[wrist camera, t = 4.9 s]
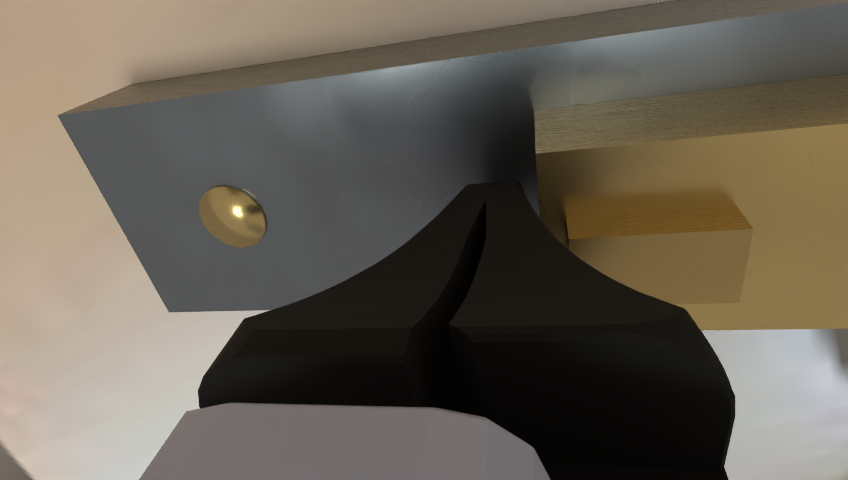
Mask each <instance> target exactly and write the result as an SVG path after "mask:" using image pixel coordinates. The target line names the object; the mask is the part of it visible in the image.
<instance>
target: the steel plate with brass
mask: <svg viewBox="0 0 848 480" xmlns="http://www.w3.org/2000/svg"><path fill="white" fill-rule="evenodd" d="M841 74H848V0H676V1H669V2H663V3H656V4H650V5H643V6H637V7H630V8H624V9H617V10H611V11H605V12H598V13H592V14H585V15H579V16H572V17H566V18H559V19H553V20H546V21H540V22H533V23H527V24H520V25H514V26H508V27H501V28H495V29H488V30H482V31H475V32H469V33H462V34H456V35H449V36H443V37H436V38H430V39H423V40H417V41H410V42H404V43H398V44H391V45H385V46H378V47H372V48H365V49H359V50H352V51H346V52H339V53H333V54H326V55H320V56H313V57H307V58H301V59H294V60H288V61H281V62H275V63H268V64H262V65H255V66H249V67H242V68H236V69H229V70H223V71H216V72H210V73H204V74H197V75H191V76H184V77H178V78H171V79H165V80H158V81H152V82H145V83H139V84H132V85H129V86H126V87H124V88H122V89H119V90H117V91H114V92H112V93H110V94H107V95H105V96H102V97H100V98H98V99H95V100H93V101H90V102H88V103H86V104H83V105H81V106H78V107H76V108H74V109H71V110H69V111H67V112H64V113H62V114H59V115H58V117H59V119H60V121H61V122H62V124H63V126H64V128H65V129H66V131H67V133H68V135H69V136H70V138H71V140H72V142H73V143H74V145H75V147H76V149H77V151H78V152H79V154H80V156H81V158H82V159H83V161H84V163H85V165H86V166H87V168H88V170H89V172H90V174H91V175H92V177H93V179H94V181H95V182H96V184H97V186H98V188H99V189H100V191H101V193H102V195H103V196H104V198H105V200H106V202H107V204H108V205H109V207H110V209H111V211H112V212H113V214H114V216H115V218H116V219H117V221H118V223H119V225H120V226H121V228H122V230H123V232H124V234H125V235H126V237H127V239H128V241H129V242H130V244H131V246H132V248H133V249H134V251H135V253H136V255H137V257H138V258H139V260H140V262H141V264H142V265H143V267H144V269H145V271H146V272H147V274H148V276H149V278H150V279H151V281H152V283H153V285H154V287H155V288H156V290H157V292H158V294H159V295H160V297H161V299H162V301H163V302H164V304H165V306H166V308H167V309H168V311H169V312H200V311H244V310H273V309H276V308H279V307H282V306H285V305H288V304H291V303H294V302H297V301H299V300H302V299H305V298H307V297H309V296H312V295H314V294H317V293H319V292H322V291H324V290H326V289H328V288H330V287H333V286H335V285H337V284H339V283H341V282H343V281H345V280H347V279H349V278H351V277H352V276H354V275H356V274H358V273H360V272H361V271H363V270H365V269H367V268H369V267H371V266H372V265H374V264H376V263H377V262H379V261H381V260H382V259H384V258H385V257H387V256H388V255H389V254H391V253H392V252H394V251H395V250H397V249H398V248H399V247H401V246H402V245H404V244H405V243H406V242H407V241H409V240H410V239H411V238H412V237H413V236H415V235H416V234H417V233H418V232H419V231H420V230H421V229H423V228H424V227H425V226H426V225H427V224H428V223H429V222H431V221H432V220H433V219H434V218H435V217H436V216H437V215H438V214H439V213H440V212H441V211H442V210H443V209H444V208H445V207H446V206H447V205H448V204H449V203H450V202H451V201H452V200H453V199H454V198H455V197H456V196H457V195H458V193H459V192H460V191H461V190H462V189H463V188H464V187H465V186H467V185H468V184H480V183H491V182H503V181H515V180H518V181H519V182H520V183H521V184H522V185H523V190H524V193H525V195H526V197H527V199H528V201H529V203H530V204H531V206H532V207H533V209H534V210H535V212H536V213H537V215H538V216H539V217H540V213H539V197H538V182H537V167H536V150H535V118H534V110H543V109H551V108H560V107H568V106H577V105H585V104H594V103H602V102H611V101H619V100H628V99H637V98H645V97H654V96H662V95H671V94H679V93H688V92H696V91H705V90H713V89H722V88H730V87H739V86H747V85H756V84H764V83H773V82H781V81H790V80H798V79H807V78H815V77H824V76H832V75H841Z"/></svg>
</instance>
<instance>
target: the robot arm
mask: <svg viewBox="0 0 848 480" xmlns="http://www.w3.org/2000/svg"><path fill="white" fill-rule="evenodd" d="M198 396H199V407H200V409H196V410H191V411H187V412H186V413H185V414H184V415H183V417H182V418H181V420H180V421H179V423H178V424H177V426H176V427H175V428H174V430H173V431H172V433H171V434H170V436H169V437H168V439H167V440H166V441H165V443H164V444H163V446H162V447H161V449H160V450H159V452H158V453H157V454H156V456H155V457H154V459H153V460H152V462H151V463H150V465H149V466H148V467H147V469H146V470H145V472H144V473H143V475H142V476H141V478H140V479H139V480H728V477H727V474H726V471H725V468H724V464H725V460H726V455H727V451H728V446H729V442H730V437H731V433H732V428H733V423H734V419H735V395H734V393H733V390H732V388H731V385H730V382H729V379H728V377H727V375H726V372H725V370H724V368H723V366H722V364H721V362H720V360H719V359H718V357H717V355H716V353H715V352H714V350H713V348H712V347H711V345H710V344H709V342H708V341H707V339H706V338H705V336H704V335H703V333H702V332H701V330H700V329H699V327H698V326H697V324H696V323H695V321H694V320H693V318H692V317H691V316H690V314H689V313H688V312H687V310H686V309H684V308H682V307H679V306H676V305H674V304H671V303H668V302H666V301H663V300H660V299H657V298H655V297H652V296H649V295H646V294H644V293H641V292H639V291H636V290H634V289H632V288H630V287H628V286H626V285H624V284H622V283H620V282H618V281H615V280H614V279H612V278H610V277H608V276H606V275H604V274H603V273H601V272H599V271H598V270H596V269H595V268H593V267H592V266H590V265H588V264H587V263H585V262H584V261H582V260H581V259H580V258H578V257H577V256H576V255H575V254H573V253H572V252H571V251H570V250H569V249H568V248H567V247H565V246H564V245H563V244H562V243H561V242H560V241H559V240H558V239H557V238H556V237H555V236H554V234H553V233H552V232H551V231H550V230H549V229H548V228H547V226H546V225H545V224H544V223H543V222H542V220H541V219H540V217H539V216H538V215H537V213H536V212H535V210H534V209H533V207H532V206H531V204H530V203H529V201H528V199H527V197H526V195H525V193H524V190H523V185H522V184H521V183H520V182H519V181H518V180H515V181H503V182H491V183H480V184H468V185H467V186H465V187H464V188H463V189H462V190H461V191H460V192H459V193H458V195H457V196H456V197H455V198H454V199H453V200H452V201H451V202H450V203H449V204H448V205H447V206H446V207H445V208H444V209H443V210H442V211H441V212H440V213H439V214H438V215H437V216H436V217H435V218H434V219H433V220H432V221H431V222H429V223H428V224H427V225H426V226H425V227H424V228H423V229H421V230H420V231H419V232H418V233H417V234H416V235H415V236H413V237H412V238H411V239H410V240H409V241H407V242H406V243H405V244H404V245H402V246H401V247H399V248H398V249H397V250H395V251H394V252H392V253H391V254H389V255H388V256H387V257H385V258H384V259H382V260H381V261H379V262H377V263H376V264H374V265H372V266H371V267H369V268H367V269H365V270H363V271H361V272H360V273H358V274H356V275H354V276H352V277H351V278H349V279H347V280H345V281H343V282H341V283H339V284H337V285H335V286H333V287H330V288H328V289H326V290H324V291H322V292H319V293H317V294H314V295H312V296H309V297H307V298H305V299H302V300H299V301H297V302H294V303H291V304H288V305H285V306H282V307H279V308H276V309H273V310H270V311H267V312H264V313H261V314H258V315H255V316H251V317H248V318H245V319H244V320H243V321H242V323H241V324H240V325H239V327H238V328H237V330H236V331H235V332H234V334H233V335H232V337H231V338H230V340H229V341H228V342H227V344H226V345H225V347H224V348H223V349H222V351H221V352H220V354H219V355H218V356H217V358H216V359H215V361H214V362H213V364H212V365H211V366H210V368H209V369H208V371H207V372H206V373H205V375H204V376H203V379H202V381H201V384H200V387H199V389H198Z"/></svg>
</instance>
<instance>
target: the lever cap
mask: <svg viewBox="0 0 848 480" xmlns="http://www.w3.org/2000/svg"><path fill="white" fill-rule="evenodd" d="M534 118H535V150H536V167H537V182H538V197H539V213H540V219H541V220H542V222H543V223H544V224H545V225H546V226H547V228H548V229H549V230H550V231H551V232H552V233H553V234H554V236H555V237H556V238H557V239H558V240H559V241H560V242H561V243H562V244H563V245H564V246H565V247H567V248H568V249H569V250H570V251H571V252H572V253H573V254H575V255H576V256H577V257H578V258H580V259H581V260H582V261H584V262H585V263H587V264H588V265H590V266H592V267H593V268H595V269H596V270H598V271H599V272H601V273H603V274H604V275H606V276H608V277H610V278H612V279H614V280H615V281H618V282H620V283H622V284H624V285H626V286H628V287H630V288H632V289H634V290H636V291H639V292H641V293H644V294H646V295H649V296H652V297H655V298H657V299H660V300H663V301H666V302H668V303H671V304H674V305H676V306H679V307H682V308H684V309H686V310H687V312H688V313H689V314H690V316H691V317H692V318H693V320H694V321H695V323H696V324H697V326H698V327H699V329H700V330H759V329H838V328H840V329H843V328H848V74H841V75H832V76H824V77H815V78H807V79H798V80H790V81H781V82H773V83H764V84H756V85H747V86H739V87H730V88H722V89H713V90H705V91H696V92H688V93H679V94H671V95H662V96H654V97H645V98H637V99H628V100H619V101H611V102H602V103H594V104H585V105H577V106H568V107H560V108H551V109H543V110H534Z"/></svg>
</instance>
